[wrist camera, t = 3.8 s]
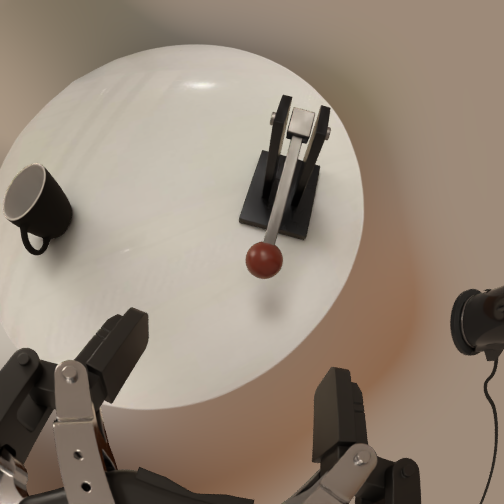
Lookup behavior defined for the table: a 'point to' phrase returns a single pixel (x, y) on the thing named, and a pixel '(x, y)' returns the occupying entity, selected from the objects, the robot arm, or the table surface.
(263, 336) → the table surface
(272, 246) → the lever
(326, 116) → the bracket
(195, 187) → the table surface
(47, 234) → the mug
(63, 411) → the robot arm
